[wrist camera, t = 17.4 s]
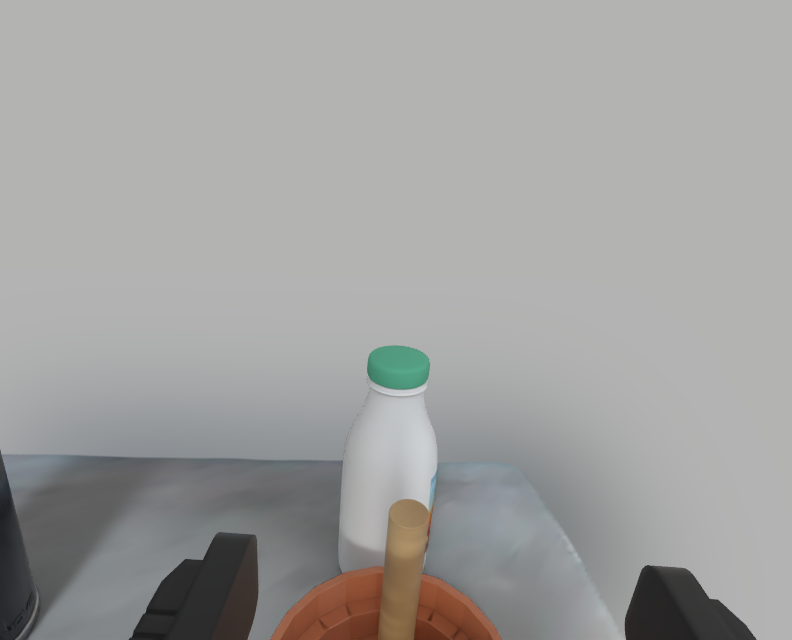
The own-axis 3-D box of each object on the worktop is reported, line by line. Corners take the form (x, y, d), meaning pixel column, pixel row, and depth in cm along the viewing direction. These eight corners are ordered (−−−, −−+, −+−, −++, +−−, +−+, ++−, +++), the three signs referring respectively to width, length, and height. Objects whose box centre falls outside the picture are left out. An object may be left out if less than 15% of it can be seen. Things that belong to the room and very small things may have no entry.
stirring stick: (345, 774, 27) (360, 545, 21) (353, 690, 31) (367, 479, 25) (422, 779, 27) (458, 552, 21) (419, 694, 31) (449, 485, 25)
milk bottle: (410, 614, 37) (437, 390, 30) (322, 581, 39) (328, 365, 32) (434, 542, 44) (461, 347, 37) (358, 518, 46) (370, 329, 39)
